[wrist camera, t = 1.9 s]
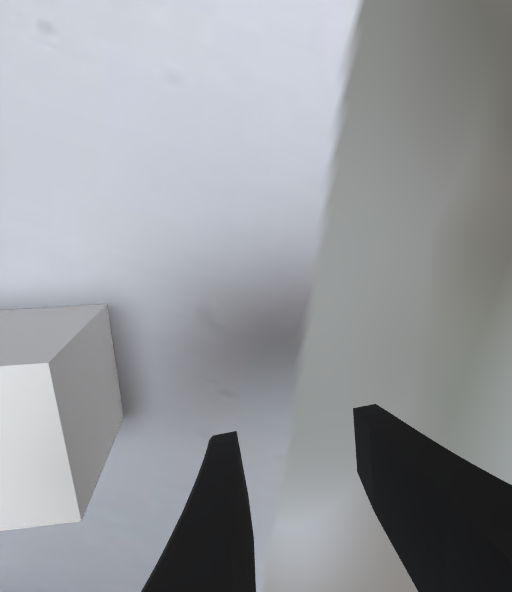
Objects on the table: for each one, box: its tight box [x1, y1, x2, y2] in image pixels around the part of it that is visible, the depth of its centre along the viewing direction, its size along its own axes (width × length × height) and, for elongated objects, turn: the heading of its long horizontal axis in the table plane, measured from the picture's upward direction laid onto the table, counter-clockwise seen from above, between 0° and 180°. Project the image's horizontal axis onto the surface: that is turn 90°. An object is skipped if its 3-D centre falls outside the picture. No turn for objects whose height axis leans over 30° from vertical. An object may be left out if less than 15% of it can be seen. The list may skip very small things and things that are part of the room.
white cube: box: [0, 304, 124, 531], centre depth 14 cm, size 6×6×6 cm
